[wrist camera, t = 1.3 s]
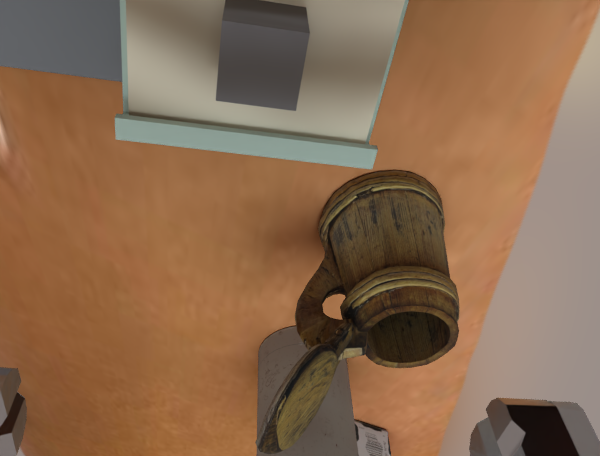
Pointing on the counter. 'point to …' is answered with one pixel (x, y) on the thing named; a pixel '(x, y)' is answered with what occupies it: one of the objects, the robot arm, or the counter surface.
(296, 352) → the thermos bottle
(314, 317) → the wooden mug
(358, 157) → the box
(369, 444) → the candy bar box
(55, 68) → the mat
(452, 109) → the counter surface
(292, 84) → the cover lid
